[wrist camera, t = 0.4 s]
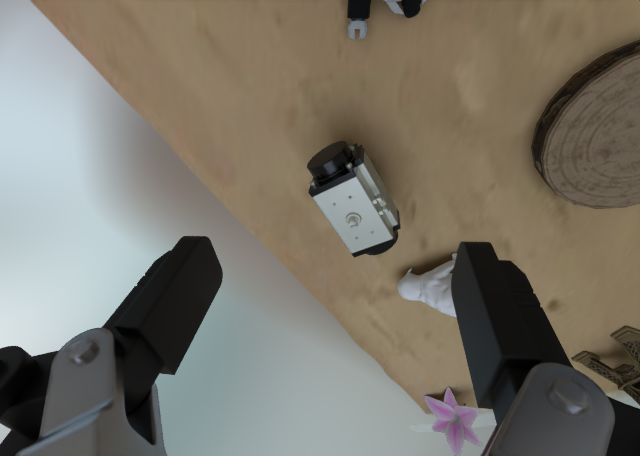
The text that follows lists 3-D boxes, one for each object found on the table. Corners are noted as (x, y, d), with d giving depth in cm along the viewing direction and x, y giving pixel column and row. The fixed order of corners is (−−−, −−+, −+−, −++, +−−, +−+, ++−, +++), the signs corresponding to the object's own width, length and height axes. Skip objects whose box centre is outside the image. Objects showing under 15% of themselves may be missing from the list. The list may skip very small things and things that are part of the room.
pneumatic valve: (363, 210, 42) (359, 274, 32) (317, 135, 36) (297, 186, 27) (402, 193, 39) (411, 257, 30) (359, 111, 34) (353, 158, 25)
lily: (481, 379, 64) (470, 416, 57) (498, 427, 65) (490, 469, 58) (426, 372, 72) (410, 404, 65) (442, 415, 73) (429, 450, 66)
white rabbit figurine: (498, 328, 39) (402, 331, 44) (486, 278, 45) (403, 286, 50) (493, 295, 36) (390, 303, 41) (481, 246, 42) (393, 258, 47)
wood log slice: (726, -14, 24) (764, -14, 22) (735, 147, 31) (764, 160, 29) (510, 106, 32) (520, 115, 29) (554, 215, 38) (566, 230, 36)
